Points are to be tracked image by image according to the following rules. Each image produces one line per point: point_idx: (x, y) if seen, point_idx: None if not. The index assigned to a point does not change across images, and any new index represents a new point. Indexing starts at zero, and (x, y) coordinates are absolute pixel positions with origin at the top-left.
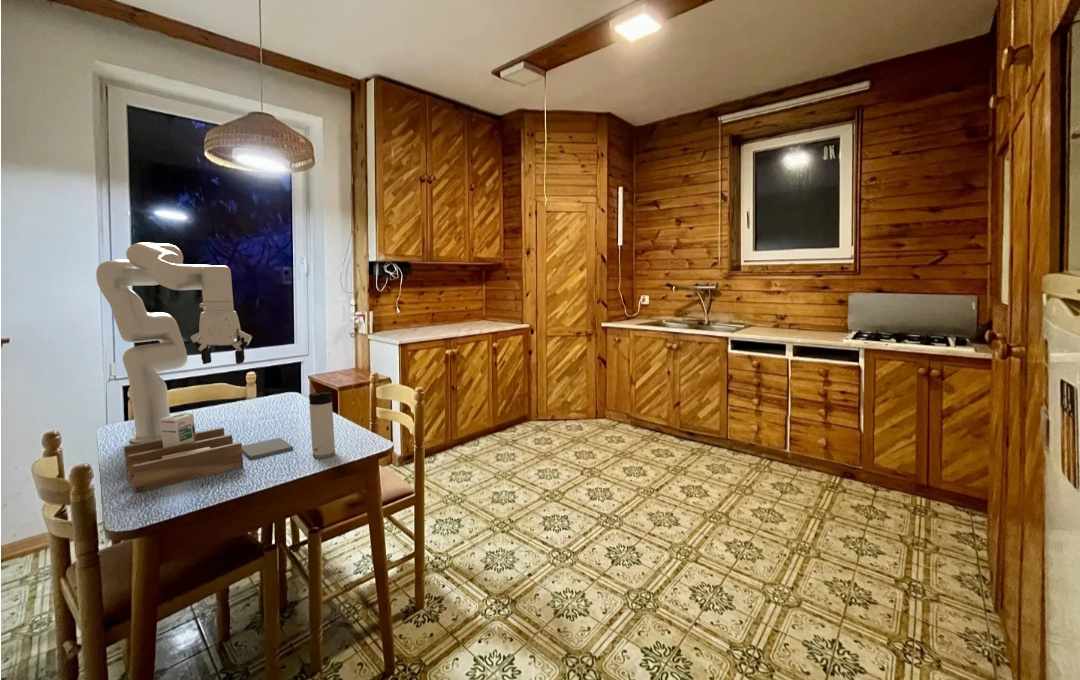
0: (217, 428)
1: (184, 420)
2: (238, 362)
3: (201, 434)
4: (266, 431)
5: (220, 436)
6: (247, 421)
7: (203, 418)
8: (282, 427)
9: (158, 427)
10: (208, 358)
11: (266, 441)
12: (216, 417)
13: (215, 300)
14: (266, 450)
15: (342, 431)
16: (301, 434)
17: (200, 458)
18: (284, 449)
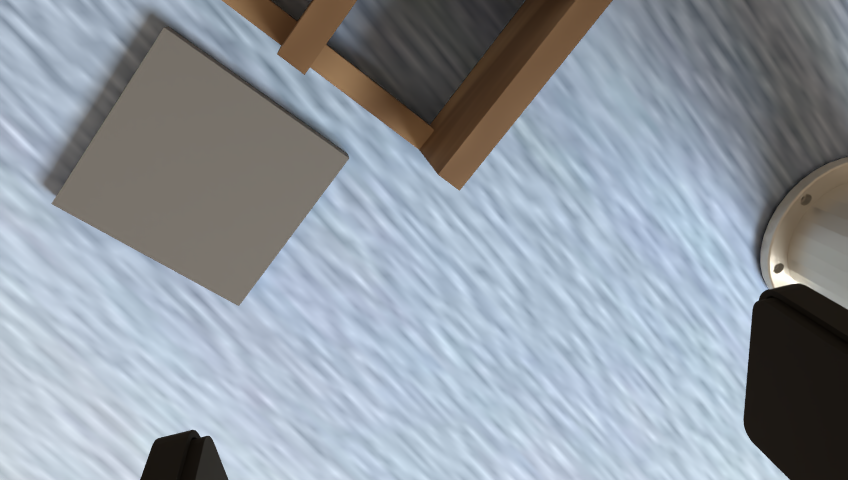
0: (472, 165)
1: None
2: (158, 462)
3: (508, 79)
4: (402, 384)
5: (337, 25)
6: (575, 464)
7: None
8: (366, 440)
9: (838, 229)
10: (805, 425)
11: (263, 245)
12: (728, 471)
13: None
14: (149, 125)
15: (16, 461)
16: (199, 386)
17: None
18: (76, 168)
